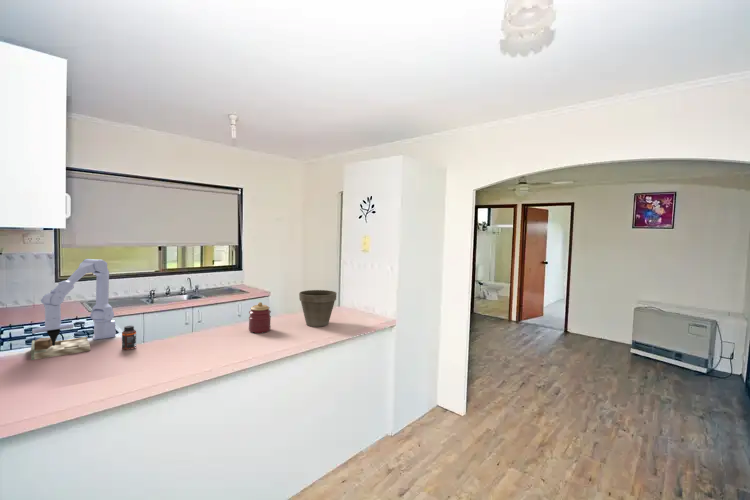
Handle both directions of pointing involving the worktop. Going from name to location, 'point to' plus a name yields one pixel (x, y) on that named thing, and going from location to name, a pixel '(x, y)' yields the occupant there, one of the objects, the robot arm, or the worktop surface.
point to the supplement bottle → (128, 338)
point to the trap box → (61, 348)
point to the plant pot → (317, 306)
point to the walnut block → (43, 343)
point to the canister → (259, 318)
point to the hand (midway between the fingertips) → (53, 345)
